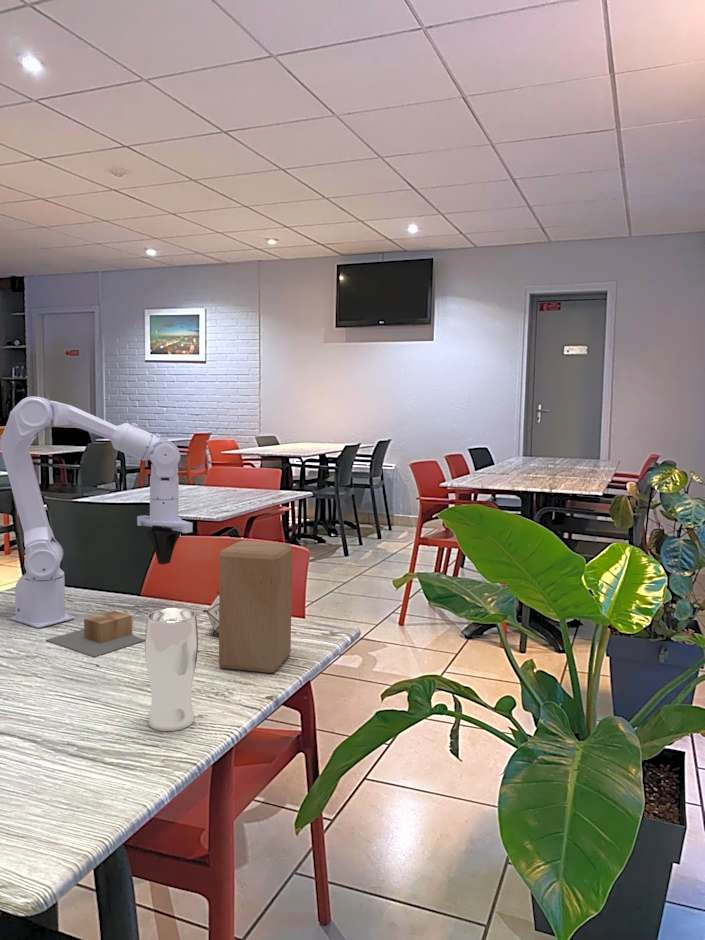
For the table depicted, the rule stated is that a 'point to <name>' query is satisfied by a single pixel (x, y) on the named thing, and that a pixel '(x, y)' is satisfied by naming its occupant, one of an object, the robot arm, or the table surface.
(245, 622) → the block
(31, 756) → the table surface
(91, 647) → the mat
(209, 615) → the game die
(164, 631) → the beer glass
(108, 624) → the walnut block
